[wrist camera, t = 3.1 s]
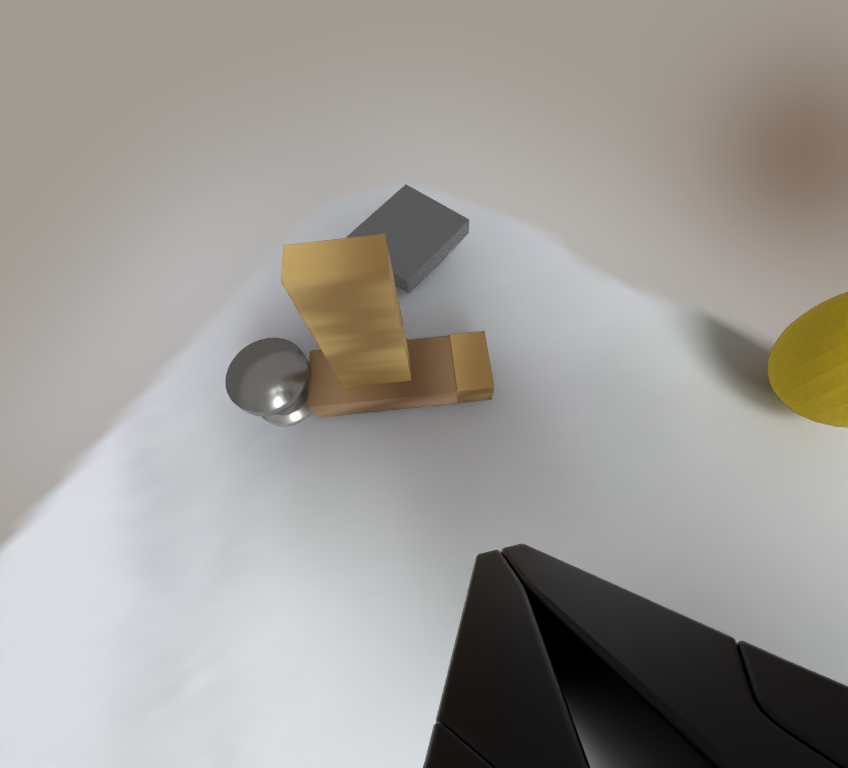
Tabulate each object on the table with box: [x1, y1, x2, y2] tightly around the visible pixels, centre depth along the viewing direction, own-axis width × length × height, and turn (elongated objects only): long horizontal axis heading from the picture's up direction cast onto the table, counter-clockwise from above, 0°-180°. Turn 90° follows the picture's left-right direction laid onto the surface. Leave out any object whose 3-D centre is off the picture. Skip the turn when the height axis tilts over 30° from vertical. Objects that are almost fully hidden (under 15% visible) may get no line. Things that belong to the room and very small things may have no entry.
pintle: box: [226, 338, 312, 426], centre depth 22 cm, size 4×4×3 cm
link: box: [281, 234, 494, 418], centre depth 18 cm, size 9×3×10 cm, turn 95°
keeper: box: [346, 185, 469, 293], centre depth 24 cm, size 5×5×4 cm
